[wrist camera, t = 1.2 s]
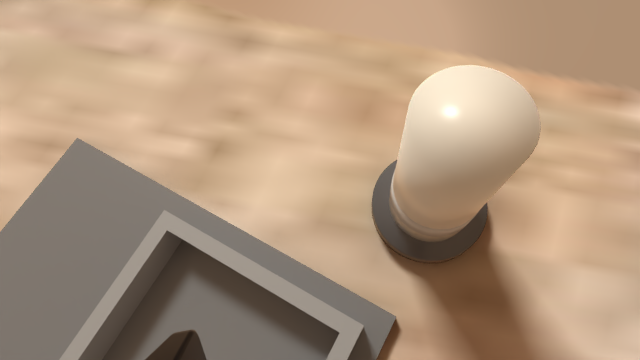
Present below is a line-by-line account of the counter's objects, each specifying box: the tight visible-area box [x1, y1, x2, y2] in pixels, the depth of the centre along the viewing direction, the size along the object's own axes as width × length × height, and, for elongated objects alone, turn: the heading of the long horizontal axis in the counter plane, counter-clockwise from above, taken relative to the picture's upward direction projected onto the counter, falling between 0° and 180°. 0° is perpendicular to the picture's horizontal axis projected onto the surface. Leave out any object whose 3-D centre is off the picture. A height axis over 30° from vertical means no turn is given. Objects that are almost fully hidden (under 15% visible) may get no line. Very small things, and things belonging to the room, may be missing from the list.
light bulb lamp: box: [372, 65, 541, 263], centre depth 18 cm, size 6×6×10 cm
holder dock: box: [0, 138, 396, 360], centre depth 20 cm, size 22×14×3 cm, turn 61°
